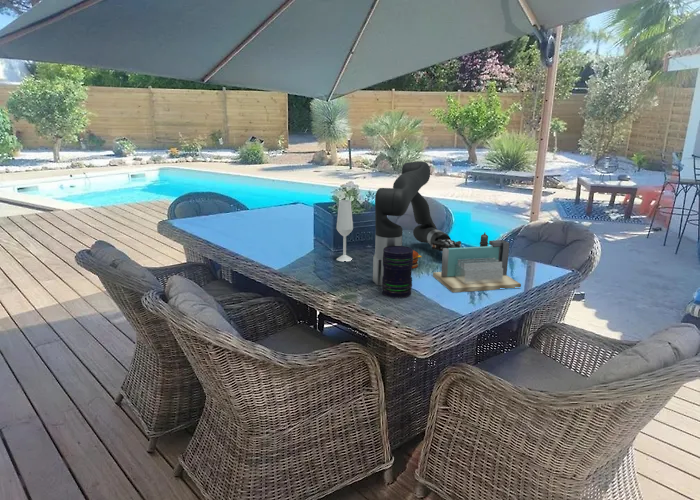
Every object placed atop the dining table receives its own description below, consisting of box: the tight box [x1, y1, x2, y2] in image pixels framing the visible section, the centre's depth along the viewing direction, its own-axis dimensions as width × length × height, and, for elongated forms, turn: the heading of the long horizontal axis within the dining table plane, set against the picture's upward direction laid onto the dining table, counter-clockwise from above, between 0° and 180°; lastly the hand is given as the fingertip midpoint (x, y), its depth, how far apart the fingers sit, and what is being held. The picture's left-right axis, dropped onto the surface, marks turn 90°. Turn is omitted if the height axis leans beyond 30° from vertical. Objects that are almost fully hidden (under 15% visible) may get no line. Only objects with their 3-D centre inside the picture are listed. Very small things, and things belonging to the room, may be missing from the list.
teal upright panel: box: [440, 245, 499, 277], centre depth 182 cm, size 21×2×10 cm, turn 102°
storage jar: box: [381, 245, 414, 299], centre depth 167 cm, size 10×10×15 cm
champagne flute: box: [335, 199, 354, 262], centre depth 205 cm, size 7×7×24 cm
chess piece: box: [479, 232, 490, 247], centre depth 206 cm, size 6×6×12 cm
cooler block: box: [455, 239, 510, 284], centre depth 179 cm, size 20×12×12 cm, turn 102°
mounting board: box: [432, 271, 522, 293], centre depth 181 cm, size 25×18×2 cm
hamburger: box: [412, 249, 423, 269], centre depth 199 cm, size 9×10×7 cm
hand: (455, 250), depth 197 cm, fingers closed
